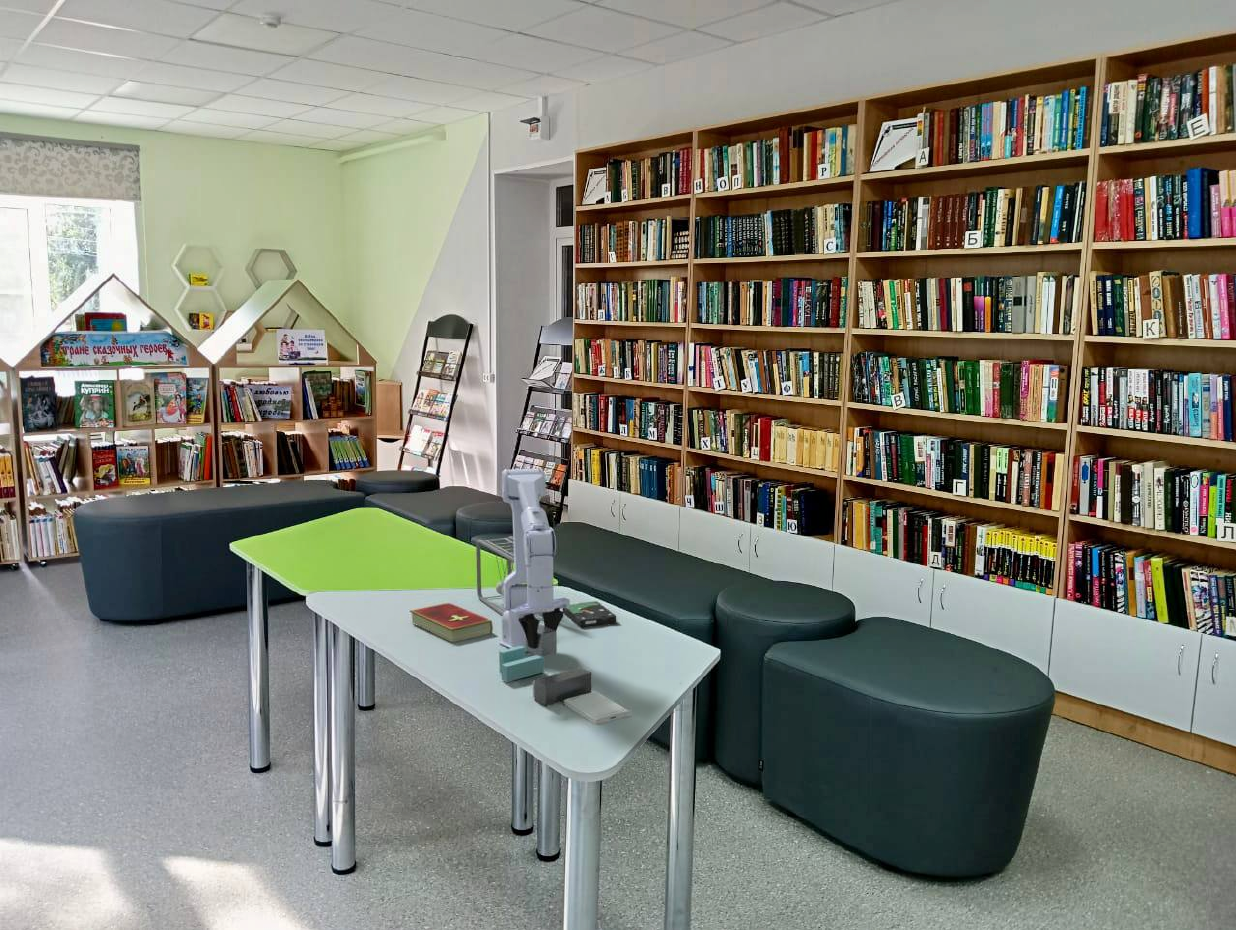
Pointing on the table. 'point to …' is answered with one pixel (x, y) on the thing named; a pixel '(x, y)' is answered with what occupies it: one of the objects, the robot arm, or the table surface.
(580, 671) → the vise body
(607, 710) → the hard drive
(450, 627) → the hardcover book
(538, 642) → the steel block
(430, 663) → the table surface
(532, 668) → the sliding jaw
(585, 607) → the disk drive
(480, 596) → the newton's cradle
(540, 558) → the robot arm
